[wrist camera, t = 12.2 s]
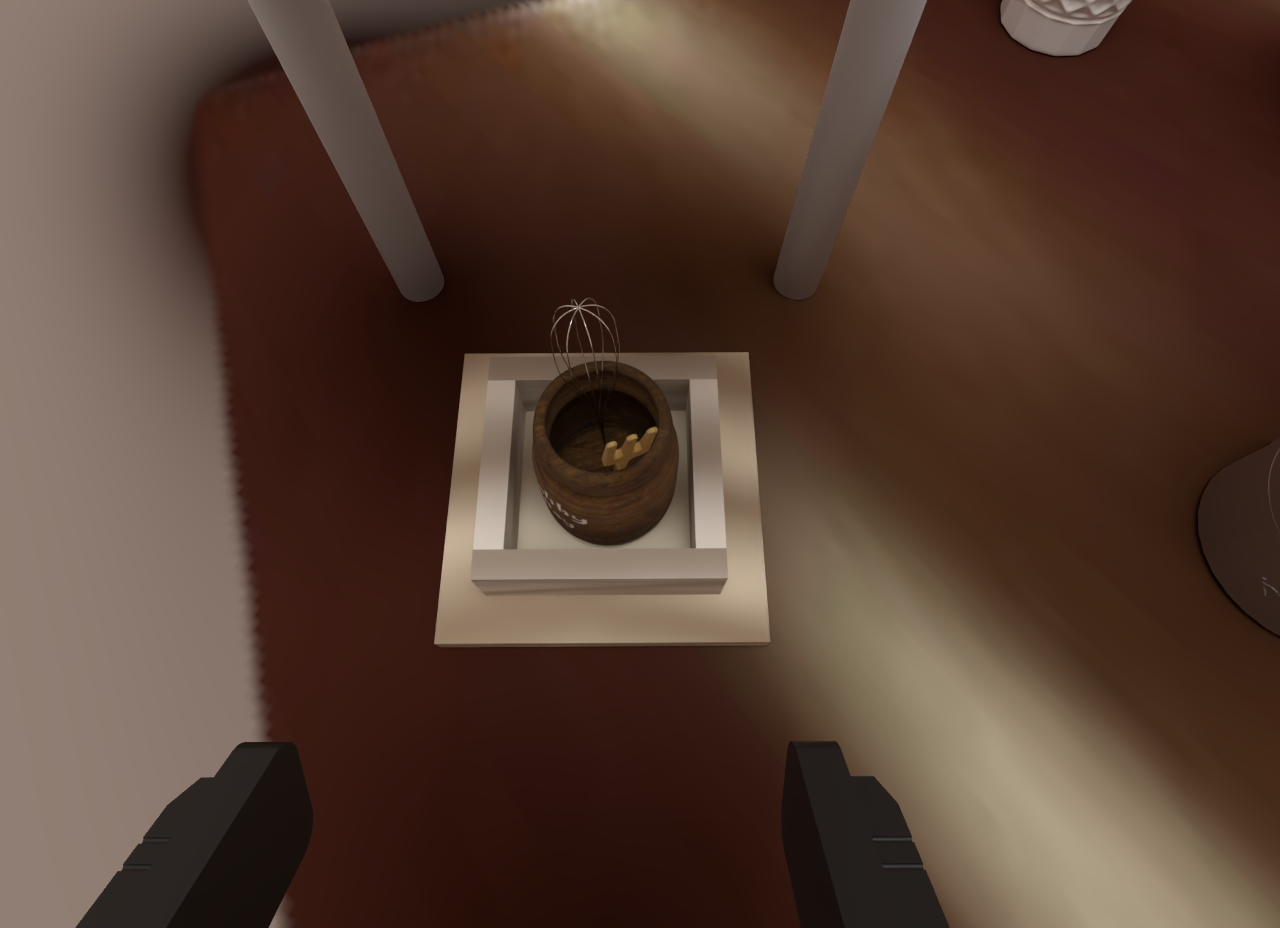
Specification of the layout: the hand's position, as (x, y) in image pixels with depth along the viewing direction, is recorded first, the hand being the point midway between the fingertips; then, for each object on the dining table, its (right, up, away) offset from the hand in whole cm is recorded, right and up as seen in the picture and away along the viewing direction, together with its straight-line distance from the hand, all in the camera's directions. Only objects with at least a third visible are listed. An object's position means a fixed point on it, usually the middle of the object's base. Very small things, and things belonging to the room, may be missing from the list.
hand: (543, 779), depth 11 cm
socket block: (0, +4, +21) cm, 21 cm away
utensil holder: (0, +4, +20) cm, 21 cm away
